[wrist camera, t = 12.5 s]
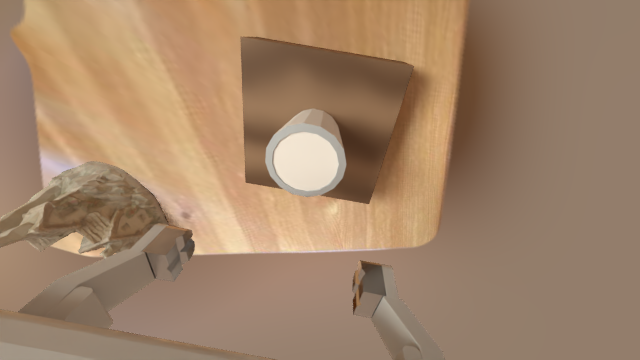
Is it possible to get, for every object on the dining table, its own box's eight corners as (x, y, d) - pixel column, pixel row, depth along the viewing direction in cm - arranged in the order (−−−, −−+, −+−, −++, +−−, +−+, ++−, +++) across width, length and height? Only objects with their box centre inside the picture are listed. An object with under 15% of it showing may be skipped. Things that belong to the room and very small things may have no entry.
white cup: (358, 135, 25) (364, 165, 19) (314, 173, 28) (307, 210, 22) (312, 87, 23) (302, 104, 17) (270, 134, 26) (248, 162, 20)
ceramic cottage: (42, 170, 38) (-99, 244, 25) (127, 153, 35) (15, 225, 23) (111, 235, 46) (30, 314, 34) (183, 225, 43) (124, 306, 31)
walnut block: (258, 37, 25) (240, 36, 21) (402, 61, 25) (413, 66, 21) (258, 164, 34) (245, 182, 29) (366, 183, 34) (369, 204, 29)
